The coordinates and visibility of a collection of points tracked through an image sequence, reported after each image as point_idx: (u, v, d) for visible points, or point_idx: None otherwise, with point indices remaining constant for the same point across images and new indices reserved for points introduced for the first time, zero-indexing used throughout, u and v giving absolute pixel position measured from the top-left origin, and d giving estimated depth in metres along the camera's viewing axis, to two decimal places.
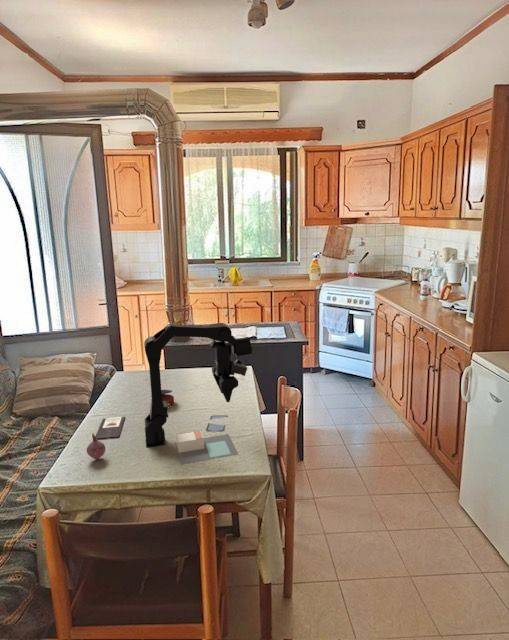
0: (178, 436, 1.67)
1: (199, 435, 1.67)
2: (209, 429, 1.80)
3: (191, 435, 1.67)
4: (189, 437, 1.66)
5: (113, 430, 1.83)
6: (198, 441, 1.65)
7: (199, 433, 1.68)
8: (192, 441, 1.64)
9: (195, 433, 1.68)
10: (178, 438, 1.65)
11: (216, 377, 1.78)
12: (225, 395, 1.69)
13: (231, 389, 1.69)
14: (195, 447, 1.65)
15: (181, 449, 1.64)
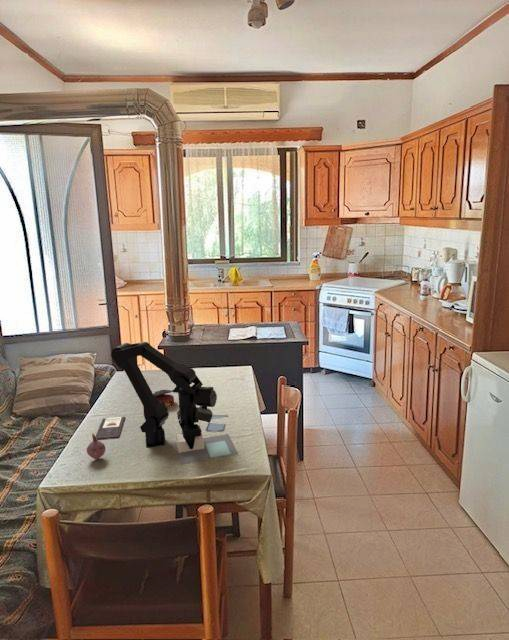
0: (178, 436, 1.67)
1: None
2: (209, 429, 1.80)
3: None
4: None
5: (114, 430, 1.83)
6: (198, 441, 1.65)
7: None
8: None
9: None
10: (178, 438, 1.65)
11: (181, 424, 1.69)
12: (188, 442, 1.62)
13: (194, 436, 1.62)
14: (195, 447, 1.65)
15: (181, 449, 1.64)
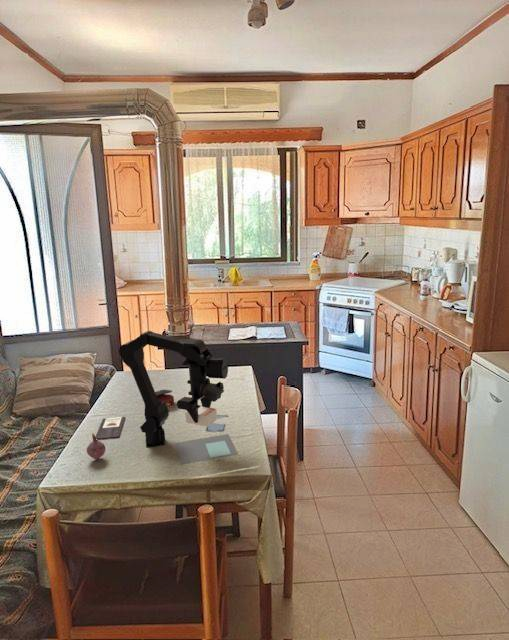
0: None
1: (207, 412, 1.61)
2: (209, 429, 1.80)
3: (202, 410, 1.63)
4: (199, 411, 1.63)
5: (114, 430, 1.83)
6: (202, 417, 1.59)
7: (210, 410, 1.62)
8: None
9: (208, 409, 1.63)
10: None
11: (201, 397, 1.66)
12: (191, 414, 1.60)
13: (194, 410, 1.58)
14: (200, 422, 1.60)
15: (188, 420, 1.63)
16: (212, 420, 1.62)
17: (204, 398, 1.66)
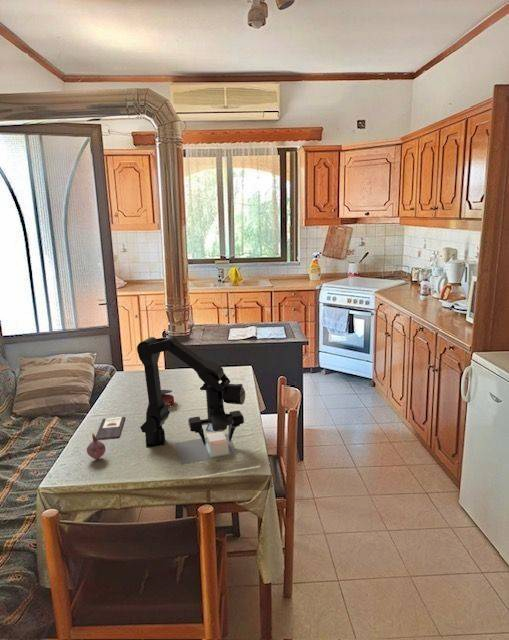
0: (218, 433, 1.68)
1: (216, 442, 1.61)
2: (209, 429, 1.80)
3: (218, 439, 1.64)
4: (215, 438, 1.64)
5: (114, 430, 1.83)
6: (210, 445, 1.61)
7: (221, 442, 1.61)
8: (209, 441, 1.63)
9: (222, 440, 1.62)
10: (214, 433, 1.68)
11: None
12: None
13: None
14: (210, 450, 1.63)
15: (207, 442, 1.67)
16: (220, 452, 1.61)
17: (229, 424, 1.65)
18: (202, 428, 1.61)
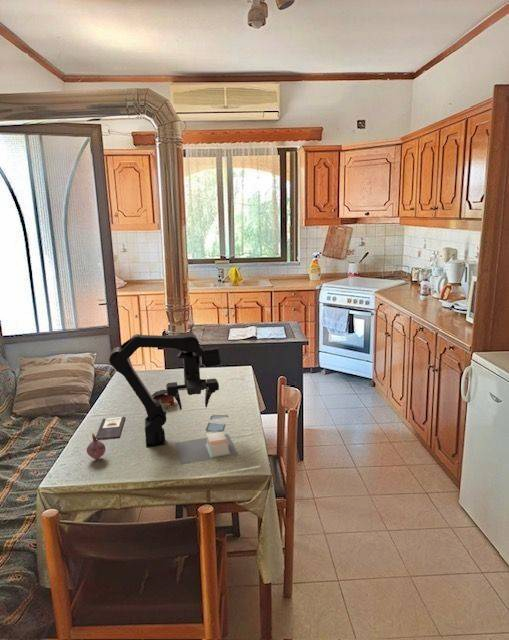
0: (218, 433, 1.68)
1: (216, 442, 1.61)
2: (209, 429, 1.80)
3: (218, 439, 1.64)
4: (215, 438, 1.64)
5: (114, 430, 1.83)
6: (210, 445, 1.61)
7: (221, 442, 1.61)
8: (209, 441, 1.63)
9: (222, 440, 1.62)
10: (214, 433, 1.68)
11: (205, 388, 1.74)
12: None
13: None
14: (210, 450, 1.63)
15: (207, 442, 1.67)
16: (220, 452, 1.61)
17: (206, 390, 1.73)
18: (178, 393, 1.69)
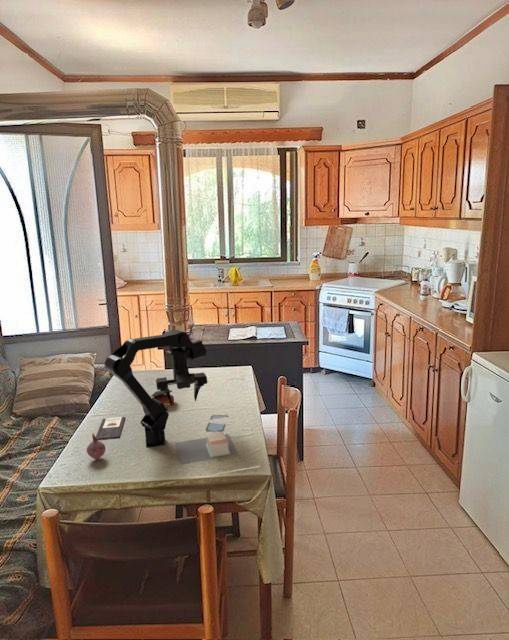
0: (218, 433, 1.68)
1: (216, 442, 1.61)
2: (209, 429, 1.80)
3: (218, 439, 1.64)
4: (215, 438, 1.64)
5: (114, 430, 1.83)
6: (210, 445, 1.61)
7: (221, 442, 1.61)
8: (209, 441, 1.63)
9: (222, 440, 1.62)
10: (214, 433, 1.68)
11: (194, 382, 1.80)
12: None
13: None
14: (210, 450, 1.63)
15: (207, 442, 1.67)
16: (220, 452, 1.61)
17: (195, 384, 1.79)
18: None
